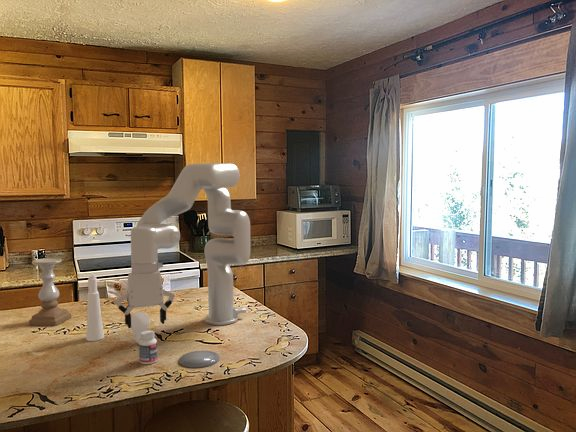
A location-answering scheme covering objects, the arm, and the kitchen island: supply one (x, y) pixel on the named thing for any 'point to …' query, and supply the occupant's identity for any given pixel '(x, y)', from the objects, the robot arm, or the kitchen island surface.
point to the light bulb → (139, 324)
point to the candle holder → (49, 297)
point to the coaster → (199, 359)
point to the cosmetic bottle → (93, 312)
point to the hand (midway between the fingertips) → (146, 324)
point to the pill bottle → (148, 348)
